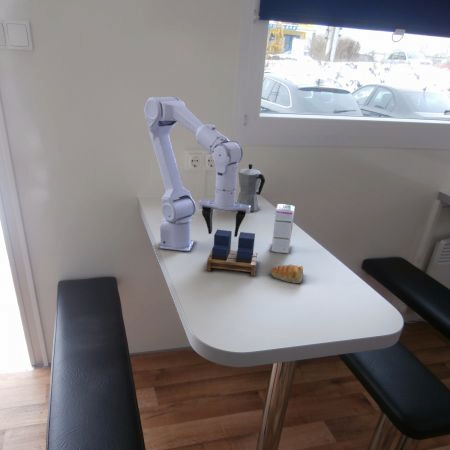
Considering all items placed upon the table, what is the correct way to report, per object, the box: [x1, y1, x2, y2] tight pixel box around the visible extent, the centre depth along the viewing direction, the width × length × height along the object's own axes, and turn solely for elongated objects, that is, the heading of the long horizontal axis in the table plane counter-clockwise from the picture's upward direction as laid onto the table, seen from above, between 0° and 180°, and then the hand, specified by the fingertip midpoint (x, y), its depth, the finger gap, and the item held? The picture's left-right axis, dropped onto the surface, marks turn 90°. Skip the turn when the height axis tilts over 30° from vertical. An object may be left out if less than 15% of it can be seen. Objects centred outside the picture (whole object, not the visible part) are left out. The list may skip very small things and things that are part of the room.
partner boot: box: [236, 231, 256, 263], centre depth 119 cm, size 7×4×6 cm, turn 172°
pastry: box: [270, 264, 304, 284], centre depth 118 cm, size 9×7×4 cm
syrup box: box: [271, 203, 296, 254], centre depth 132 cm, size 6×6×14 cm
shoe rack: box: [206, 249, 258, 277], centre depth 121 cm, size 14×9×4 cm, turn 82°
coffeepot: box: [236, 163, 266, 213], centre depth 164 cm, size 15×9×18 cm, turn 37°
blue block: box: [211, 229, 233, 261], centre depth 119 cm, size 7×4×6 cm, turn 170°
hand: (223, 234), depth 119 cm, fingers open, 7 cm apart
